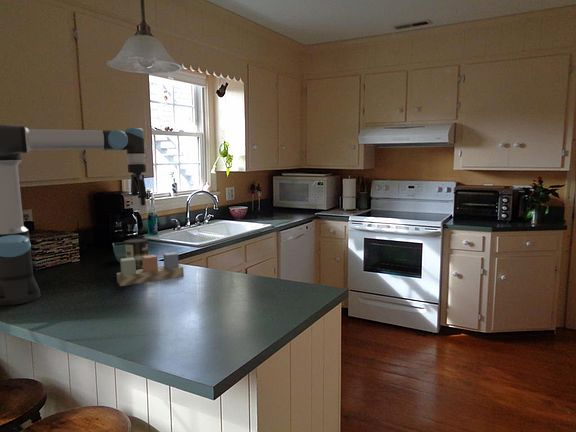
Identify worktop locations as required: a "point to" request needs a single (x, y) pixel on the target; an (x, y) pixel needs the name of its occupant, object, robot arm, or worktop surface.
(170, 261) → the slate block
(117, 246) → the flower pot
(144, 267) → the terracotta block
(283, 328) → the worktop surface
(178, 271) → the socket rail
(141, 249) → the coffee can
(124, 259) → the sage block
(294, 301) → the worktop surface
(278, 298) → the worktop surface
